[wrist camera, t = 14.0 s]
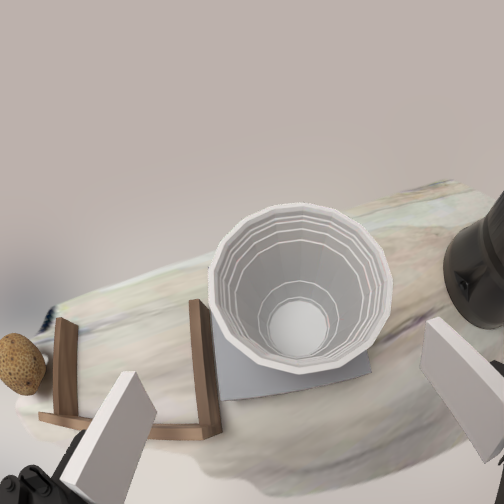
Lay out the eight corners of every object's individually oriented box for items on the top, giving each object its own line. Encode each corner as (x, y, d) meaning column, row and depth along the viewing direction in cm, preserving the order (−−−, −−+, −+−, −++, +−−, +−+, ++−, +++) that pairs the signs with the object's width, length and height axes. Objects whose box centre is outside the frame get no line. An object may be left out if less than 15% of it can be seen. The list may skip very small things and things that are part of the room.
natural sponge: (63, 397, 30) (13, 387, 21) (30, 400, 30) (-15, 389, 21) (57, 341, 34) (12, 320, 26) (27, 350, 34) (-15, 331, 26)
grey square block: (331, 267, 35) (336, 242, 29) (358, 377, 27) (371, 372, 22) (221, 288, 35) (207, 267, 30) (234, 400, 28) (220, 400, 23)
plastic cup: (373, 357, 23) (428, 323, 13) (262, 400, 23) (235, 402, 12) (330, 260, 28) (345, 178, 18) (230, 295, 28) (191, 228, 18)
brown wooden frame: (208, 309, 34) (189, 288, 28) (222, 432, 26) (203, 440, 20) (73, 326, 35) (42, 310, 29) (73, 423, 28) (38, 420, 22)
